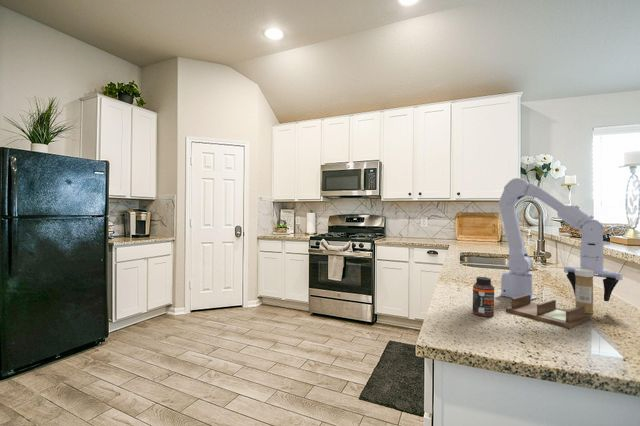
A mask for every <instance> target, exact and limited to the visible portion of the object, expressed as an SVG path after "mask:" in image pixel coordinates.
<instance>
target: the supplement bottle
mask: <svg viewBox="0 0 640 426" xmlns="http://www.w3.org/2000/svg"><path fill="white" fill-rule="evenodd" d="M472 313H473V314H474V315H477V316H480V317H485V318H486V317H490V318H491V317H493V316H494V313H495V286H493V284H492V279H491V278H490V277H486V276H477V277H476V282H475V283H474V284H473V286H472Z"/></svg>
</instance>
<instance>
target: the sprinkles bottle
mask: <svg viewBox="0 0 640 426" xmlns="http://www.w3.org/2000/svg"><path fill="white" fill-rule="evenodd" d="M575 276H576V284H575V294H574V296H575V297H574V299H575V308H576V307H578V306H585V314H586V315H587V314H589V315H591V314H593V313H594V277H595V276H594V272H593V271H592V270H588V269H575Z"/></svg>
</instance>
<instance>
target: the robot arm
mask: <svg viewBox="0 0 640 426" xmlns="http://www.w3.org/2000/svg"><path fill="white" fill-rule="evenodd" d="M525 196H526V197H531V198H535V199H538V200H539V201H541V202H543V203H544V204H545V205H547V206H549V207H550V208H552V209H553V210H555V212H557V217H558V218H559V219H560V220H562V221H563V222H564V223H566V224H567V225H569V226H570V227H572V228H573V229H575V230H576V229H577V230H579V232H580V234H581V241H580V244H579V246H580V247H579V248H580V251H579V253H580V257H579V258H580V261H579V262H580V265H579V267H576V266H564V267H563V272H564V273H566V278H567V279H568V280H569V281H568V282H570V283H569V284H571V287H572V290H573V293H574V295H575V284H576V276H575V269H588V270H592V271H593V272H594V277H595V278H596V277H599V278H603V279H602V283H603V301H604V302H609V301H610V299H611V298H610V297H611V295H612V292H613V290H614V289H615V287H616V286H617V284H618V283H619V281H622V280H623V273H621V272H616V271H615V272H614V271H609V270H604V242H603V241H604V237H603V234H604V233H605V229H604V225H603V224H602V223H601V222H600V221H599V220H596V219H594V216H593V215H589V214H587V212H584V211H583V210H581V209H580V208H581V207H580V206H578V205H577V204H576V205H574V204H572V203H569V204H568V203H567V204H565V203H563V202H561V201H560V200H559V199H557V198H556V197H554V196H553V195H551V194H550V193H549V192H547V191H546V190H545V189H543V188H542V187H540V186H538V185H535V184H534V183H531V182H529V181H527V180H525V179H523V178H520V177H515V178H512V179H511V180H509V181H507V184H505V186H504V187H503V191H502V194H501V196H500V199H499V202H498V206H499V210H500V214H501V219H502V223H503V227H504V232H505V235H506V240H507V244H508V250H509V251H508V256H509V261H508V264H507V265H508V269H509V271H504V272H503V273H502V275H501V278H500V280H501V281H500V283H501V285H500V294H499V295H500V296H503V297H507V298H511V299H512V298H515V297H519V296H523V295H527V294H529V295H530V301H532V300H535V299H538V296H535V295H533V272H531V269H532V267H533V264H534V263H533V259H532V258H531V257H530V256H529V254H528V250H527V249H526V247H525V243H524V239H523V235H522V231H521V226H520V223H519V219H518V215H517V211H516V205H517V204H518V202H519V201H520V200H521V199H523V198H524V197H525Z"/></svg>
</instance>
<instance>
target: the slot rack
mask: <svg viewBox="0 0 640 426" xmlns="http://www.w3.org/2000/svg"><path fill="white" fill-rule="evenodd" d="M556 304H557V300H556V299H550V300H547V301H542V302H540V303H536V302H532V301H531V300H530V295H529V294H527V295H523V296H519V297H515V298H511V306H507V307H506V308H505V312H506V313H507V312H508V313H510V314H515V315H519V316H522V317H527V318H529V319H530V318H531V319H534V320H537V321H540V322H544V323H547V324H548V323H549V324H553V325H557V326H559V327H563V328H567V329H571V328H574V327H576V326H578V325H581V324H584V323H585V322H587V321H588V322H589V321H591V320H592V319H591V318H592V316H591V315H590V314H589V315H587V314H586V313H585V306H578V307H576V306H575V307H573V308H571V309H567V310H566V309H563V308H559V307H556V306H557V305H556Z"/></svg>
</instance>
